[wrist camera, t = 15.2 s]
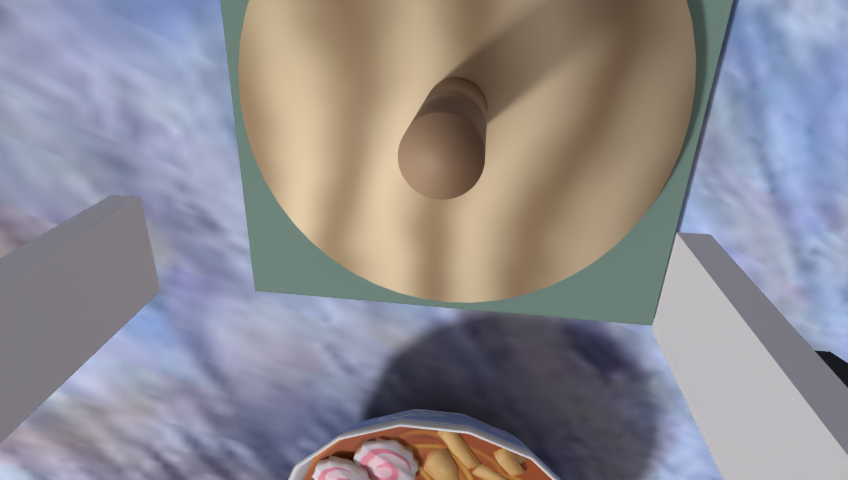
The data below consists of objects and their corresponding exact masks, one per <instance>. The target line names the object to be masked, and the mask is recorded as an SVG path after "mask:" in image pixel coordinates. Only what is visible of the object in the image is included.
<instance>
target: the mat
mask: <svg viewBox="0 0 848 480" xmlns="http://www.w3.org/2000/svg"><path fill="white" fill-rule="evenodd" d="M248 2H249V0H221V9H222V17H223V25H224V34H225V42H226V51H227V59H228V67H229V76H230V84H231V93H232V101H233V109H234V118H235V126H236V134H237V143H238V151H239V160H240V168H241V176H242V185H243V193H244V202H245V210H246V218H247V227H248V235H249V243H250V252H251V260H252V269H253V277H254V285H255V291H263V292H275V293H286V294H298V295H309V296H321V297H332V298H343V299H355V300H366V301H378V302H389V303H401V304H412V305H423V306H435V307H446V308H458V309H469V310H480V311H492V312H503V313H515V314H526V315H538V316H549V317H560V318H572V319H583V320H595V321H606V322H617V323H629V324H640V325H652V323H653V319H654V315H655V311H656V307H657V303H658V299H659V295H660V291H661V287H662V283H663V279H664V275H665V271H666V267H667V263H668V259H669V255H670V251H671V247H672V243H673V239H674V235H675V231H676V227H677V223H678V219H679V215H680V211H681V207H682V203H683V199H684V195H685V191H686V187H687V183H688V179H689V175H690V171H691V167H692V163H693V159H694V155H695V151H696V147H697V143H698V139H699V135H700V131H701V127H702V123H703V119H704V115H705V111H706V107H707V103H708V99H709V95H710V91H711V87H712V83H713V79H714V75H715V71H716V67H717V63H718V59H719V55H720V51H721V47H722V43H723V39H724V35H725V31H726V27H727V23H728V19H729V15H730V11H731V7H732V3H733V0H687V4H688V8H689V12H690V15H691V19H692V24H693V33H694V42H695V50H696V80H695V93H694V99H693V106H692V112H691V118H690V122H689V125H688V129H687V132H686V136H685V139H684V142H683V146H682V149H681V151H680V154H679V156H678V158H677V160H676V163H675V165H674V167H673V169H672V172H671V174H670V176H669V178H668V180H667V181H666V183H665V185H664V186H663V188H662V190H661V191H660V193H659V195H658V196H657V198H656V200H655V201H654V203H653V204H652V205H651V207H650V208H649V209H648V210H647V212H646V213H645V214H644V216H643V217H642V218H641V219H640V221H639V222H638V223H637V224H636V226H635V227H634V228H633V229H632V230H631V231H630V232H629V233H628V234H627V235H626V236H625V237H624V238H623V239H622V240H621V241H620V242H619V243H618V244H617V245H615V246H614V247H613V248H612V249H610V250H609V251H608V252H607V253H605V254H604V255H603V256H601V257H600V258H599V259H598V260H596V261H595V262H594V263H592V264H590V265H589V266H587V267H585V268H584V269H582V270H581V271H579V272H577V273H576V274H574V275H572V276H570V277H568V278H566V279H564V280H562V281H560V282H557V283H555V284H553V285H551V286H549V287H546V288H543V289H540V290H537V291H534V292H531V293H528V294H525V295H521V296H517V297H512V298H507V299H502V300H497V301H486V302H475V303H464V302H443V301H435V300H428V299H421V298H417V297H413V296H409V295H405V294H401V293H398V292H395V291H393V290H390V289H387V288H384V287H382V286H379V285H376V284H374V283H372V282H370V281H368V280H366V279H364V278H362V277H360V276H358V275H356V274H354V273H353V272H351V271H349V270H348V269H346V268H345V267H343V266H342V265H340V264H339V263H337V262H336V261H334V260H333V259H331V258H330V257H329V256H328V255H326V254H325V253H324V252H323V251H322V250H320V249H319V248H318V247H317V246H316V245H314V244H313V243H312V242H311V241H310V240H309V239H308V238H307V237H306V236H305V235H304V234H303V233H302V231H301V230H300V229H299V228H298V227H297V226H296V225H295V224H294V223H293V222H292V220H291V219H290V218H289V216H288V215H287V214H286V212H285V211H284V210H283V209H282V207H281V206H280V205H279V203H278V202H277V200H276V198H275V197H274V195H273V193H272V192H271V190H270V188H269V187H268V185H267V183H266V181H265V180H264V177H263V175H262V173H261V171H260V169H259V166H258V164H257V162H256V160H255V157H254V155H253V152H252V149H251V146H250V142H249V139H248V136H247V133H246V129H245V125H244V120H243V114H242V109H241V103H240V94H239V77H238V64H239V48H240V38H241V33H242V28H243V22H244V17H245V12H246V8H247V5H248Z"/></svg>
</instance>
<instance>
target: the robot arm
mask: <svg viewBox="0 0 848 480" xmlns="http://www.w3.org/2000/svg"><path fill="white" fill-rule="evenodd" d="M159 292H160V287H159V282H158V277H157V272H156V268H155V263H154V258H153V254H152V249H151V244H150V239H149V235H148V230H147V225H146V221H145V216H144V211H143V206H142V202H141V197H135V196H120V195H111V196H109V197H107V198H105V199H104V200H102V201H100V202H98V203H97V204H95V205H93V206H91V207H90V208H88V209H86V210H84V211H83V212H81V213H79V214H77V215H76V216H74V217H72V218H70V219H69V220H67V221H65V222H63V223H62V224H60V225H58V226H56V227H55V228H53V229H51V230H49V231H48V232H46V233H44V234H42V235H41V236H39V237H37V238H35V239H34V240H32V241H30V242H28V243H27V244H25V245H23V246H21V247H20V248H18V249H16V250H14V251H13V252H11V253H9V254H7V255H6V256H4V257H2V258H0V443H1V442H2V441H3V440H4V439H5V438H6V437H7V436H9V435H10V434H11V433H12V432H13V431H14V430H15V429H16V428H17V427H18V426H19V425H20V424H21V423H22V422H23V421H24V420H25V419H26V418H27V417H28V416H30V415H31V414H32V413H33V412H34V411H35V410H36V409H37V408H38V407H39V406H40V405H41V404H42V403H43V402H44V401H45V400H46V399H47V398H48V397H49V396H51V395H52V394H53V393H54V392H55V391H56V390H57V389H58V388H59V387H60V386H61V385H62V384H63V383H64V382H65V381H66V380H67V379H68V378H69V377H70V376H72V375H73V374H74V373H75V372H76V371H77V370H78V369H79V368H80V367H81V366H82V365H83V364H84V363H85V362H86V361H87V360H88V359H89V358H90V357H91V356H92V355H94V354H95V353H96V352H97V351H98V350H99V349H100V348H101V347H102V346H103V345H104V344H105V343H106V342H107V341H108V340H109V339H110V338H111V337H112V336H113V335H115V334H116V333H117V332H118V331H119V330H120V329H121V328H122V327H123V326H124V325H125V324H126V323H127V322H128V321H129V320H130V319H131V318H132V317H133V316H134V315H136V314H137V313H138V312H139V311H140V310H141V309H142V308H143V307H144V306H145V305H146V304H147V303H148V302H149V301H150V300H151V299H152V298H153V297H154V296H155V295H157V294H158V293H159ZM652 332H653V334H654V336H655V338H656V340H657V342H658V344H659V347H660V349H661V351H662V353H663V355H664V357H665V359H666V361H667V363H668V365H669V367H670V369H671V372H672V374H673V376H674V378H675V380H676V382H677V384H678V386H679V388H680V390H681V392H682V394H683V397H684V399H685V401H686V403H687V405H688V407H689V409H690V411H691V413H692V415H693V417H694V419H695V422H696V424H697V426H698V428H699V430H700V432H701V434H702V436H703V438H704V440H705V442H706V444H707V447H708V449H709V451H710V453H711V455H712V457H713V459H714V461H715V463H716V465H717V467H718V469H719V472H720V474H721V476H722V478H723V480H848V363H847V362H845V361H844V360H842V359H840V358H839V357H837V356H836V355H834V354H833V353H831V352H825V351H814V350H813V348H812V347H811V346H810V345H809V344H808V343H807V342H806V341H805V340H804V338H803V337H802V336H801V335H800V334H799V333H798V332H797V331H796V329H795V328H794V327H793V326H792V325H791V324H790V323H789V322H788V321H787V319H786V318H785V317H784V316H783V315H782V314H781V313H780V312H779V311H778V309H777V308H776V307H775V306H774V305H773V304H772V303H771V302H770V300H769V299H768V298H767V297H766V296H765V295H764V294H763V293H762V292H761V290H760V289H759V288H758V287H757V286H756V285H755V284H754V283H753V281H752V280H751V279H750V278H749V277H748V276H747V275H746V274H745V273H744V271H743V270H742V269H741V268H740V267H739V266H738V265H737V264H736V262H735V261H734V260H733V259H732V258H731V257H730V256H729V255H728V254H727V252H726V251H725V250H724V249H723V248H722V247H721V246H720V245H719V243H718V242H717V241H716V240H715V239H714V238H713V237H712V236H711V235H708V234H693V233H678V232H677V233H676V237H675V241H674V245H673V249H672V253H671V257H670V260H669V264H668V268H667V272H666V276H665V280H664V284H663V288H662V292H661V296H660V300H659V304H658V307H657V311H656V315H655V319H654V323H653V327H652Z"/></svg>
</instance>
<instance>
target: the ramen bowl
mask: <svg viewBox="0 0 848 480" xmlns="http://www.w3.org/2000/svg"><path fill="white" fill-rule="evenodd" d="M289 480H562V479H561V478H560V477H559V476H558V475H557V474H555V473H554V472H553V471H552V470H551V469H550V468H549V467H548V466H547V465H546V464H545V463H544V462H543V461H542V460H541V459H540V458H539V457H537V456H536V455H535V454H534V453H533V452H532V451H531V450H530V449H529V448H528V447H527V446H526V445H525V444H524V443H522V442H521V441H520V440H519V439H518V438H516V437H515V436H514V435H512V434H510V433H507V432H505V431H503V430H501V429H498V428H496V427H493V426H491V425H489V424H486V423H484V422H481V421H479V420H477V419H474V418H472V417H469V416H467V415H465V414H461V413H452V412H442V411H432V410H423V409H412V410H408V411H404V412H399V413H395V414H391V415H386V416H382V417H378V418H373V419H369V420H365V421H361V422H359V423H357V424H355V425H353V426H351V427H349V428H348V429H346V430H345V431H343V432H342V433H340V434H339V435H337V436H336V437H335V438H333V439H332V440H330V441H329V442H327V443H326V444H324V445H323V446H321V447H320V448H318V449H317V450H316V451H314V452H313V453H311V454H310V455H309V456H307V457H306V458H305V459H303V460H302V461H301V462H300V463H298V464H297V465H296V466H295V467H294V469H293V471H292V473H291V475H290V477H289Z"/></svg>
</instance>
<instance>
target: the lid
mask: <svg viewBox="0 0 848 480" xmlns="http://www.w3.org/2000/svg"><path fill="white" fill-rule="evenodd" d="M238 77H239V94H240V103H241V109H242V114H243V120H244V125H245V129H246V133H247V136H248V139H249V142H250V146H251V149H252V152H253V155H254V157H255V160H256V162H257V164H258V166H259V169H260V171H261V173H262V175H263V177H264V180H265V181H266V183H267V185H268V187H269V188H270V190H271V192H272V193H273V195H274V197H275V198H276V200H277V202H278V203H279V205H280V206H281V207H282V209H283V210H284V211H285V212H286V214H287V215H288V216H289V218H290V219H291V220H292V222H293V223H294V224H295V225H296V226H297V227H298V228H299V229H300V230H301V231H302V233H303V234H304V235H305V236H306V237H307V238H308V239H309V240H310V241H311V242H312V243H313V244H314V245H316V246H317V247H318V248H319V249H320V250H322V251H323V252H324V253H325V254H326V255H328V256H329V257H330V258H331V259H333V260H334V261H336V262H337V263H339V264H340V265H342V266H343V267H345V268H346V269H348V270H349V271H351V272H353V273H354V274H356V275H358V276H360V277H362V278H364V279H366V280H368V281H370V282H372V283H374V284H376V285H379V286H382V287H384V288H387V289H390V290H393V291H395V292H398V293H401V294H405V295H409V296H413V297H417V298H421V299H428V300H435V301H443V302H464V303H475V302H486V301H497V300H502V299H507V298H512V297H517V296H521V295H525V294H528V293H531V292H534V291H537V290H540V289H543V288H546V287H549V286H551V285H553V284H555V283H557V282H560V281H562V280H564V279H566V278H568V277H570V276H572V275H574V274H576V273H577V272H579V271H581V270H582V269H584V268H585V267H587V266H589V265H590V264H592V263H594V262H595V261H596V260H598V259H599V258H600V257H601V256H603V255H604V254H605V253H607V252H608V251H609V250H610V249H612V248H613V247H614V246H615V245H617V244H618V243H619V242H620V241H621V240H622V239H623V238H624V237H625V236H626V235H627V234H628V233H629V232H630V231H631V230H632V229H633V228H634V227H635V226H636V224H637V223H638V222H639V221H640V219H641V218H642V217H643V216H644V214H645V213H646V212H647V210H648V209H649V208H650V207H651V205H652V204H653V203H654V201H655V200H656V198H657V196H658V195H659V193H660V191H661V190H662V188H663V186H664V185H665V183H666V181H667V180H668V178H669V176H670V174H671V172H672V169H673V167H674V165H675V163H676V160H677V158H678V156H679V154H680V151H681V149H682V146H683V142H684V139H685V136H686V132H687V129H688V125H689V122H690V118H691V112H692V106H693V99H694V93H695V80H696V50H695V42H694V33H693V24H692V19H691V15H690V12H689V8H688V4H687V0H249V2H248V5H247V8H246V12H245V17H244V22H243V28H242V33H241V38H240V48H239V64H238Z"/></svg>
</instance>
